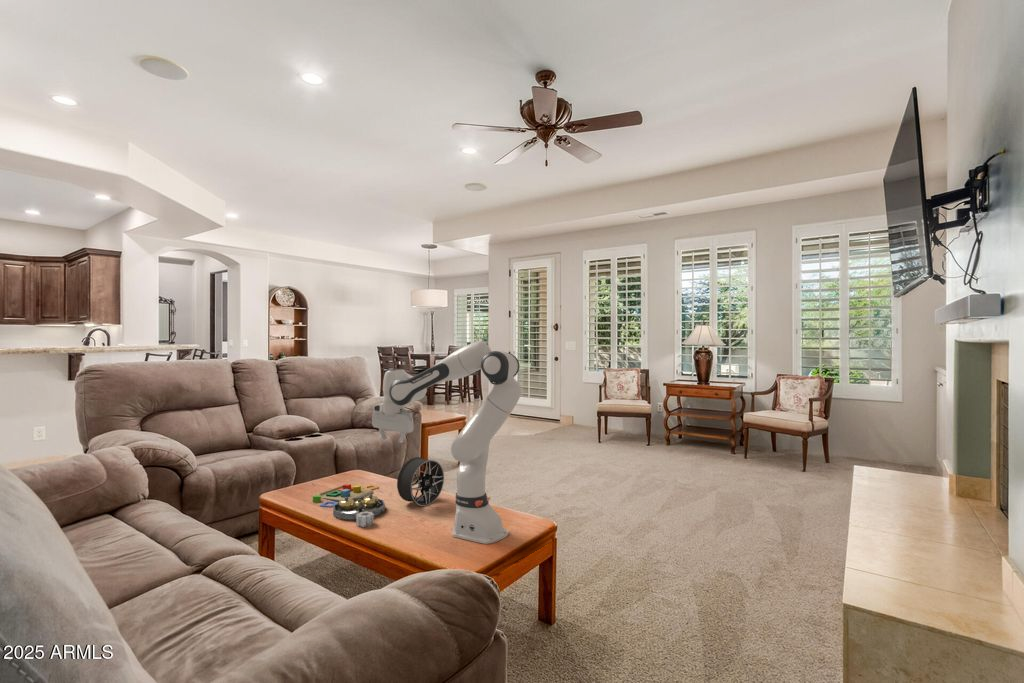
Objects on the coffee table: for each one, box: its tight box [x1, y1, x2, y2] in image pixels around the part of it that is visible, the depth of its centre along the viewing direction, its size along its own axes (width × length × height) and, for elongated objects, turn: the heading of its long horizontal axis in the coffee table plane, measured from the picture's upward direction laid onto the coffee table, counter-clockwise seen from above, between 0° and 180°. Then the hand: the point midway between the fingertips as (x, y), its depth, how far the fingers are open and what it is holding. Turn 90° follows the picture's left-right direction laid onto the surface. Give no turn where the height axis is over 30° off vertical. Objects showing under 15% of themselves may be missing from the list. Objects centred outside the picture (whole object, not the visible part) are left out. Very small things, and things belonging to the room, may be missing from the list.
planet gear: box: [355, 511, 375, 528], centre depth 196 cm, size 7×7×4 cm
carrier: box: [332, 494, 386, 522], centre depth 210 cm, size 21×21×6 cm
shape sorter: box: [312, 483, 380, 508], centre depth 231 cm, size 34×19×5 cm, turn 153°
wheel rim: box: [396, 456, 445, 507], centre depth 222 cm, size 20×9×20 cm, turn 143°
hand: (392, 440), depth 204 cm, fingers open, 8 cm apart
